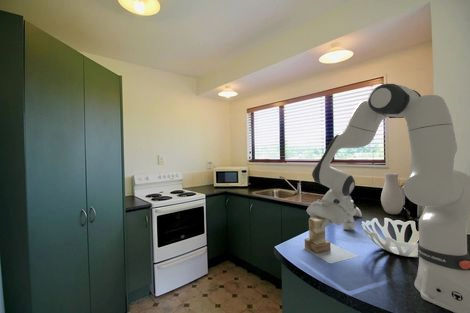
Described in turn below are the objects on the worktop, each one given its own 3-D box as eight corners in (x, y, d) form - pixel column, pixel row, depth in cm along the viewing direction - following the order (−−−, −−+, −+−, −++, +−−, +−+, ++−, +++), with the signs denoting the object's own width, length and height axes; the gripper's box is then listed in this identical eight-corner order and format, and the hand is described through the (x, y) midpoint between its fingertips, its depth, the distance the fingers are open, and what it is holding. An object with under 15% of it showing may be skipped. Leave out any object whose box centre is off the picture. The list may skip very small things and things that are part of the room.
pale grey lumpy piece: (338, 215, 160) (338, 199, 160) (349, 213, 165) (348, 198, 165) (353, 219, 149) (353, 202, 149) (364, 217, 154) (363, 201, 154)
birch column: (325, 241, 100) (324, 219, 100) (316, 243, 98) (316, 221, 98) (317, 237, 104) (317, 217, 104) (309, 239, 103) (308, 218, 103)
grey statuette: (356, 231, 125) (355, 197, 125) (344, 231, 126) (343, 197, 127) (352, 228, 131) (351, 195, 132) (341, 227, 133) (339, 195, 133)
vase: (376, 212, 166) (375, 173, 166) (390, 210, 170) (389, 172, 170) (394, 216, 153) (393, 174, 153) (408, 215, 157) (407, 173, 157)
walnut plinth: (330, 250, 99) (330, 241, 99) (316, 254, 96) (316, 244, 96) (318, 244, 106) (318, 236, 106) (304, 247, 104) (304, 238, 104)
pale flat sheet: (359, 258, 93) (359, 256, 93) (330, 266, 87) (330, 263, 87) (328, 243, 110) (327, 241, 110) (301, 248, 104) (301, 246, 104)
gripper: (312, 195, 114) (297, 216, 110) (344, 202, 94) (327, 228, 91) (319, 203, 115) (305, 223, 112) (352, 211, 96) (336, 237, 92)
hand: (315, 225), depth 101 cm, fingers open, 6 cm apart
